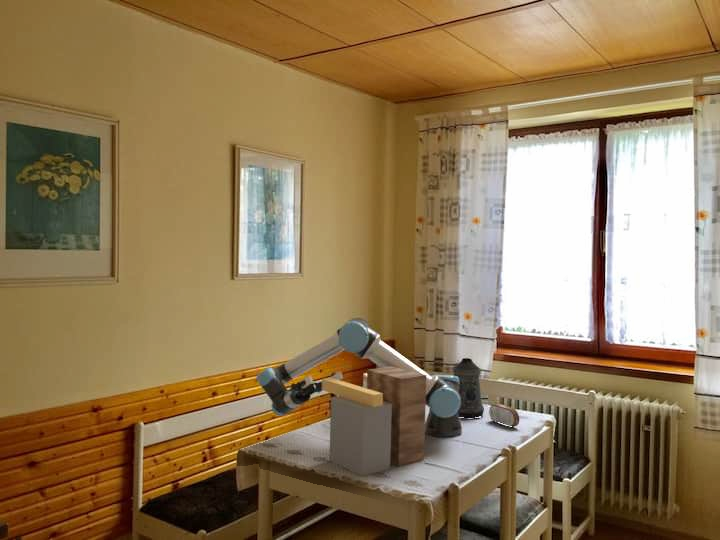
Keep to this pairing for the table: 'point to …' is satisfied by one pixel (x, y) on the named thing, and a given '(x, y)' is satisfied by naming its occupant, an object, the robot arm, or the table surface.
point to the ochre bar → (353, 392)
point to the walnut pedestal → (403, 410)
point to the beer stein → (469, 389)
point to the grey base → (360, 436)
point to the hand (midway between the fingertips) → (326, 376)
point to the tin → (504, 414)
